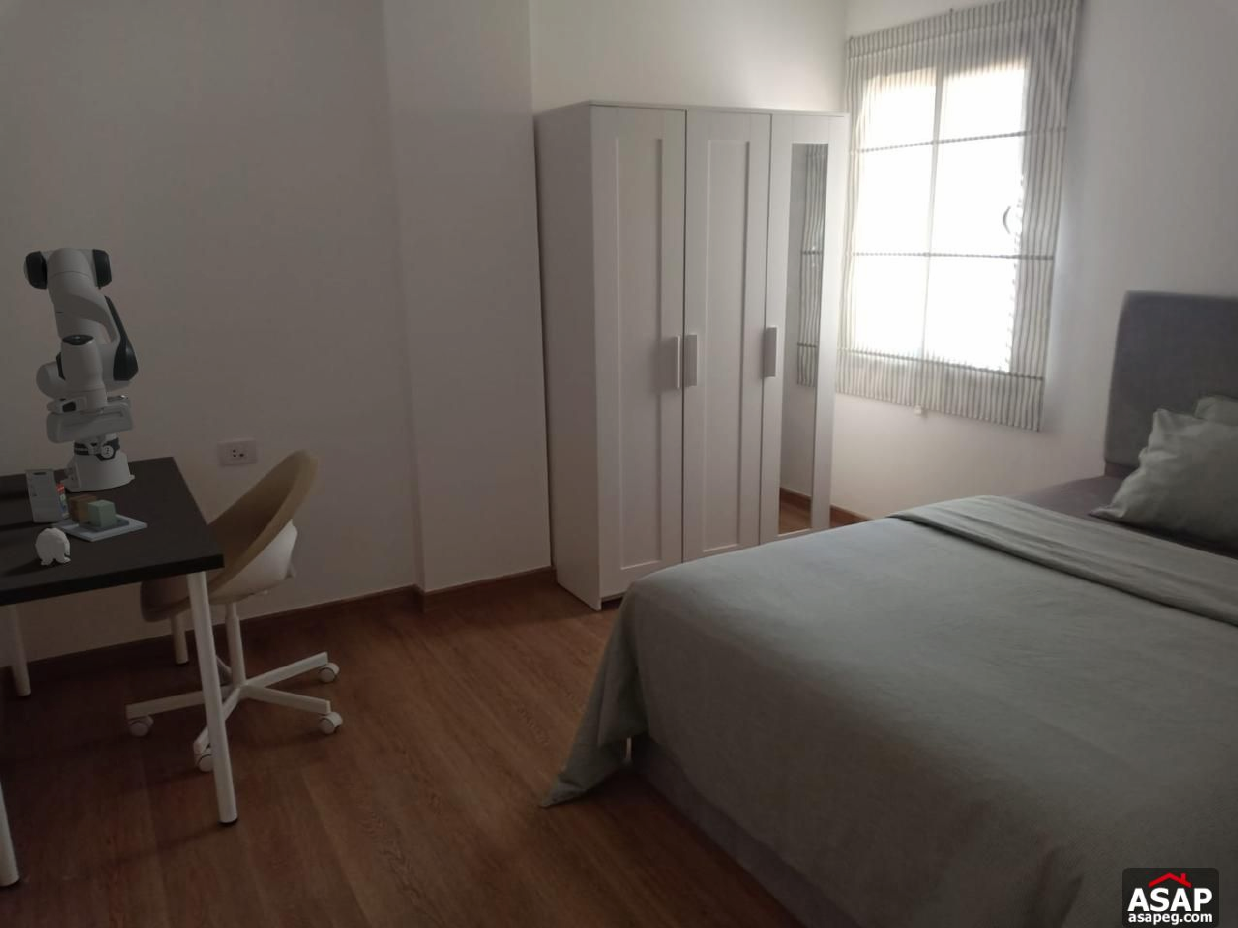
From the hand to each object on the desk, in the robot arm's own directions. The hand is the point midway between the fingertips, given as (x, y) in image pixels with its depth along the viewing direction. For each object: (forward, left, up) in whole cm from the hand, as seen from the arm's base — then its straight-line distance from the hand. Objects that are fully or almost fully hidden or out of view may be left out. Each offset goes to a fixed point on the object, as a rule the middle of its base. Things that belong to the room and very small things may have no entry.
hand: (96, 453), depth 247 cm
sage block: (+2, -2, -19) cm, 19 cm away
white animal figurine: (+17, -20, -20) cm, 32 cm away
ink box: (-19, -6, -20) cm, 28 cm away
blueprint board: (-1, -2, -20) cm, 20 cm away
